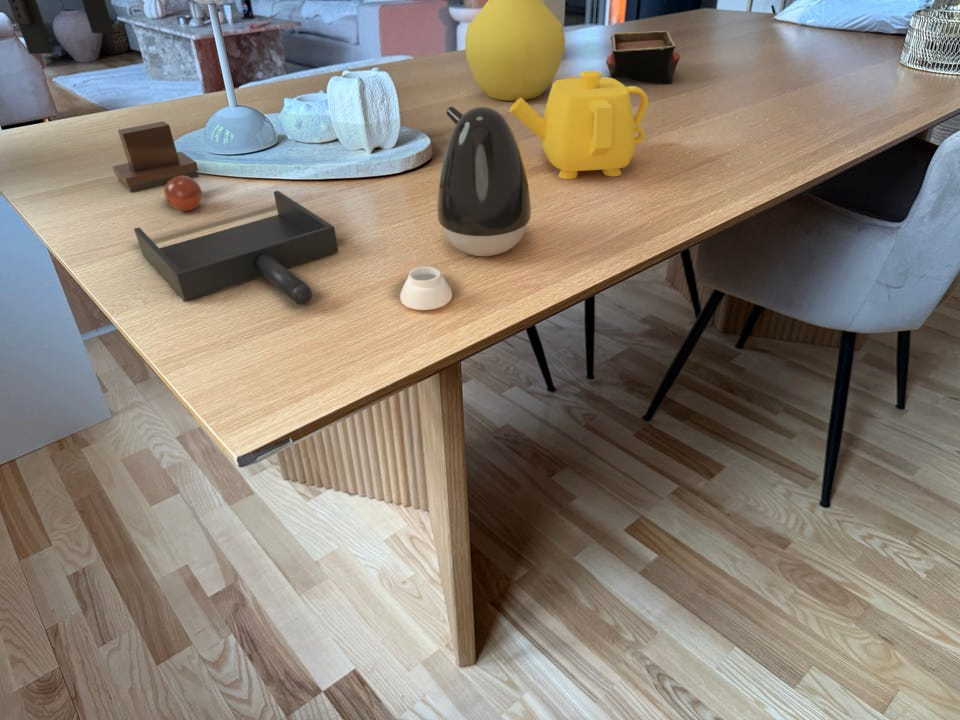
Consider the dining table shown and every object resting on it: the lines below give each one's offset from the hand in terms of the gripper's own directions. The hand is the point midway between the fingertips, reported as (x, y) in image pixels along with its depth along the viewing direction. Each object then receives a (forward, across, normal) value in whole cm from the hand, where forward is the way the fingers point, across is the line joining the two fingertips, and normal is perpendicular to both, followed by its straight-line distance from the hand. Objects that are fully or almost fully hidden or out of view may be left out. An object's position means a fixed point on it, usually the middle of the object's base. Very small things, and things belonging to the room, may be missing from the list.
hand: (74, 42), depth 89 cm
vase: (+19, +48, -54) cm, 74 cm away
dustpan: (+18, -26, -30) cm, 44 cm away
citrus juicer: (+19, +83, -54) cm, 101 cm away
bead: (+16, -10, -15) cm, 24 cm away
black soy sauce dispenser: (+19, -19, -54) cm, 60 cm away
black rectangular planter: (+19, +62, -78) cm, 102 cm away
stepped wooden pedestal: (+18, -2, -7) cm, 20 cm away
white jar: (+19, -32, -50) cm, 62 cm away
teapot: (+19, +7, -65) cm, 68 cm away
